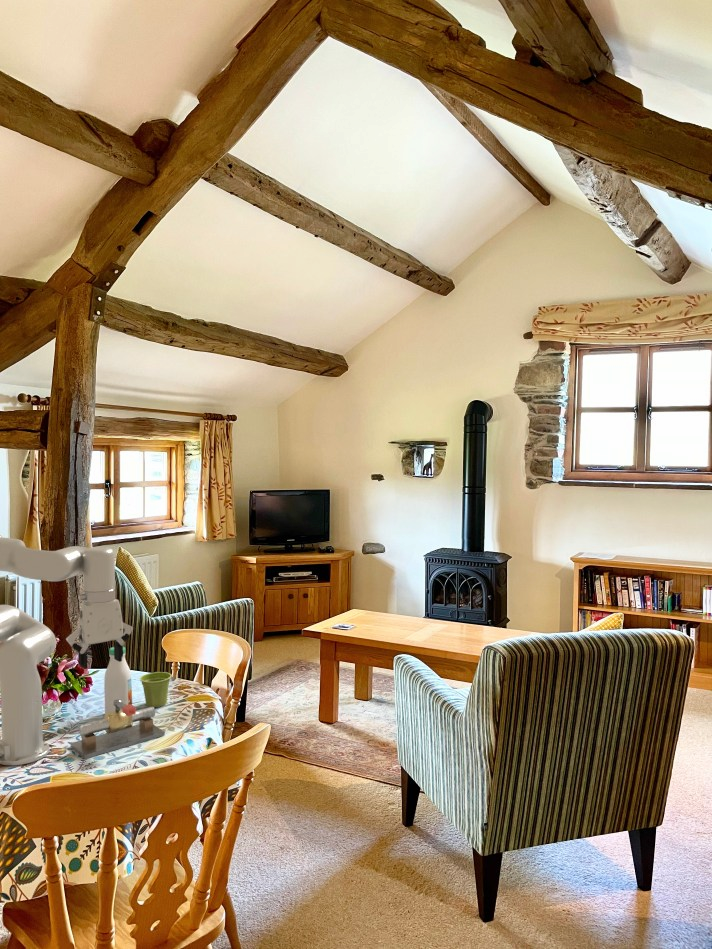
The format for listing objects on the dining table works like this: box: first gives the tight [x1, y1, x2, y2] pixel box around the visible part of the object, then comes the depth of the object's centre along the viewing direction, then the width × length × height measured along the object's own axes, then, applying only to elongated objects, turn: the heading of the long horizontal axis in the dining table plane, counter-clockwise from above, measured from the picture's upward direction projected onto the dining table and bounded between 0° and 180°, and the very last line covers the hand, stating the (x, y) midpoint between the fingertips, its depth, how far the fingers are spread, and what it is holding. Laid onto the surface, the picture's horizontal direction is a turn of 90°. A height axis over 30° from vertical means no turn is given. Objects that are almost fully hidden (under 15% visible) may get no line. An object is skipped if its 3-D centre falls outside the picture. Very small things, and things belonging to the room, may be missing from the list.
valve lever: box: [113, 699, 137, 716], centre depth 187 cm, size 10×2×2 cm, turn 41°
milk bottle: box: [103, 646, 133, 715], centre depth 210 cm, size 8×8×20 cm
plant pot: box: [139, 671, 172, 708], centre depth 218 cm, size 9×9×9 cm
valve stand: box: [70, 706, 166, 760], centre depth 190 cm, size 22×10×10 cm, turn 131°
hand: (101, 663), depth 180 cm, fingers open, 8 cm apart
